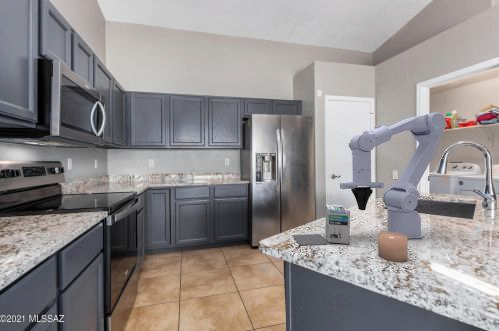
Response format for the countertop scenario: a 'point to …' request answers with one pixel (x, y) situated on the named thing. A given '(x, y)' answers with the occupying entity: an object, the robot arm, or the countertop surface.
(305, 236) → the flat gray square
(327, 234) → the light bulb box
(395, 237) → the tan rounded cylinder
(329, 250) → the countertop surface
